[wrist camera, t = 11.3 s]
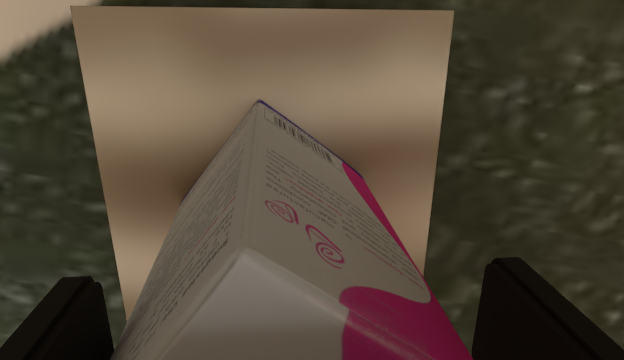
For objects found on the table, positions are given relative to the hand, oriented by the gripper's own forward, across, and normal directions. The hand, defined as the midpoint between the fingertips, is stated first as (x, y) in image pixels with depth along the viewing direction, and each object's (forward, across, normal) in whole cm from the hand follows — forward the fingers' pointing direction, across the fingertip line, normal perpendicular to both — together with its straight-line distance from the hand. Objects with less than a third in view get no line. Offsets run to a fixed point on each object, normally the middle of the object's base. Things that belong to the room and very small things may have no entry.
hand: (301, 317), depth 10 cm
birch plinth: (+13, +1, 0) cm, 13 cm away
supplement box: (+8, +1, 0) cm, 8 cm away
